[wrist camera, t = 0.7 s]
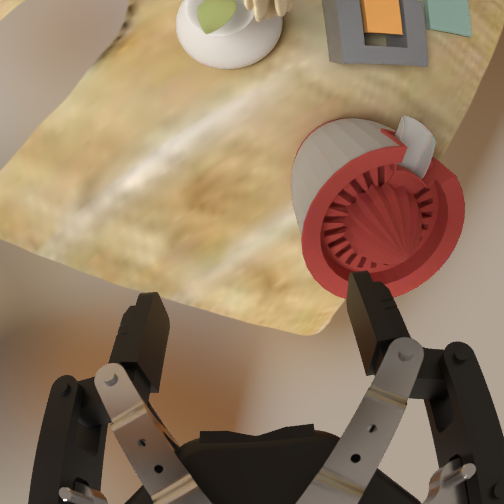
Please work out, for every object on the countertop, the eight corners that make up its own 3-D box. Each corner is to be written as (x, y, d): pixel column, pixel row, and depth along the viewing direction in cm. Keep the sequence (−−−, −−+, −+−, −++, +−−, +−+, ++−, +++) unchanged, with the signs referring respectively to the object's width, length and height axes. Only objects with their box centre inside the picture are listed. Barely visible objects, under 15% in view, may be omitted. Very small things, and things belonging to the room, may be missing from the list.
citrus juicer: (419, 124, 35) (519, 192, 19) (363, 229, 45) (416, 335, 28) (314, 71, 32) (383, 97, 16) (263, 195, 41) (275, 308, 25)
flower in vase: (239, 87, 33) (230, 152, 13) (159, 37, 29) (25, 34, 9) (310, 6, 27) (419, -51, 7) (228, -46, 23) (203, -168, 3)
